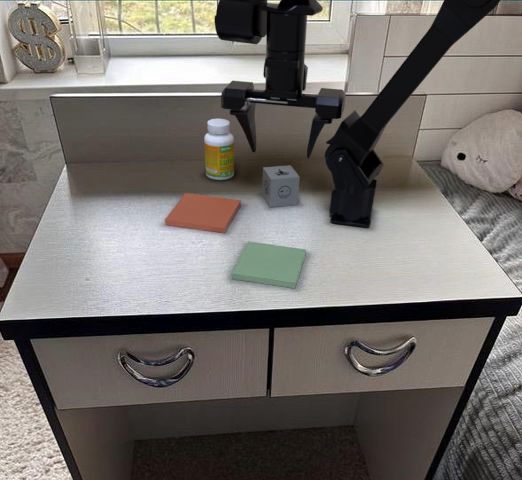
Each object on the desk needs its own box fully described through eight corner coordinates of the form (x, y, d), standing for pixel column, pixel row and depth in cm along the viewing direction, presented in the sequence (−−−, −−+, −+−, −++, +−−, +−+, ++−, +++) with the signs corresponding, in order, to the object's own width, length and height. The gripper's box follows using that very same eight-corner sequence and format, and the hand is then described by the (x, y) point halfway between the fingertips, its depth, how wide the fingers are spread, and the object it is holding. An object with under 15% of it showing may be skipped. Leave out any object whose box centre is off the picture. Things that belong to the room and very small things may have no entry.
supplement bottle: (221, 183, 96) (220, 129, 90) (199, 175, 99) (197, 122, 92) (239, 174, 100) (239, 121, 93) (218, 166, 102) (217, 115, 96)
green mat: (305, 255, 79) (306, 249, 78) (295, 288, 72) (295, 282, 71) (247, 246, 80) (247, 241, 79) (232, 278, 73) (231, 272, 73)
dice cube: (269, 207, 90) (270, 179, 86) (262, 194, 93) (263, 167, 90) (297, 204, 91) (299, 176, 87) (288, 192, 94) (290, 165, 91)
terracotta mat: (240, 205, 90) (240, 200, 89) (224, 233, 83) (224, 227, 82) (185, 198, 92) (185, 192, 91) (165, 225, 84) (164, 219, 84)
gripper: (354, 40, 81) (342, 142, 91) (237, 33, 84) (239, 132, 94) (347, 57, 73) (335, 167, 83) (218, 48, 75) (221, 155, 86)
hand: (281, 154), depth 87 cm, fingers open, 9 cm apart
